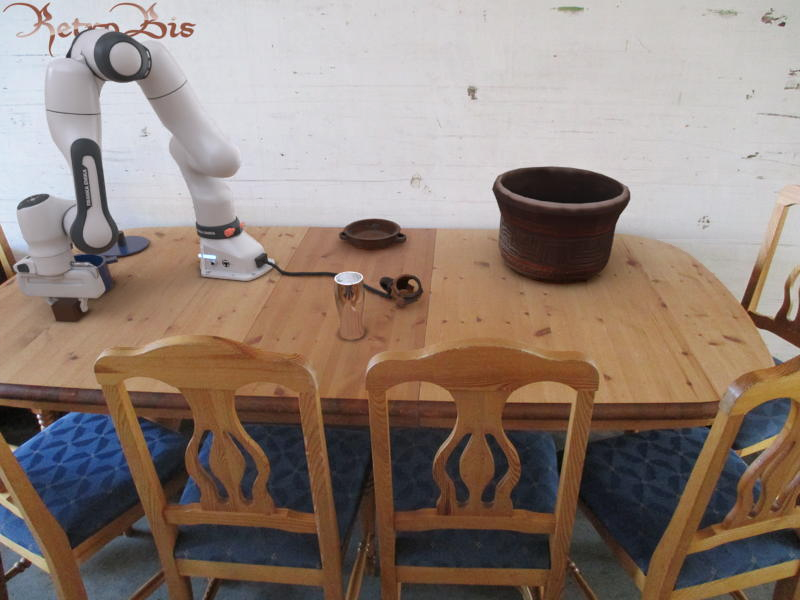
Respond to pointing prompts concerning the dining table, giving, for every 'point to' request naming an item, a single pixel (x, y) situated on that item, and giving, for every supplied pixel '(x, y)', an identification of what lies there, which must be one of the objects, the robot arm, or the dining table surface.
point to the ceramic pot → (558, 221)
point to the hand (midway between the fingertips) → (70, 310)
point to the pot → (99, 266)
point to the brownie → (67, 310)
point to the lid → (127, 245)
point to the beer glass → (350, 304)
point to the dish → (373, 233)
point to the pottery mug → (402, 288)
